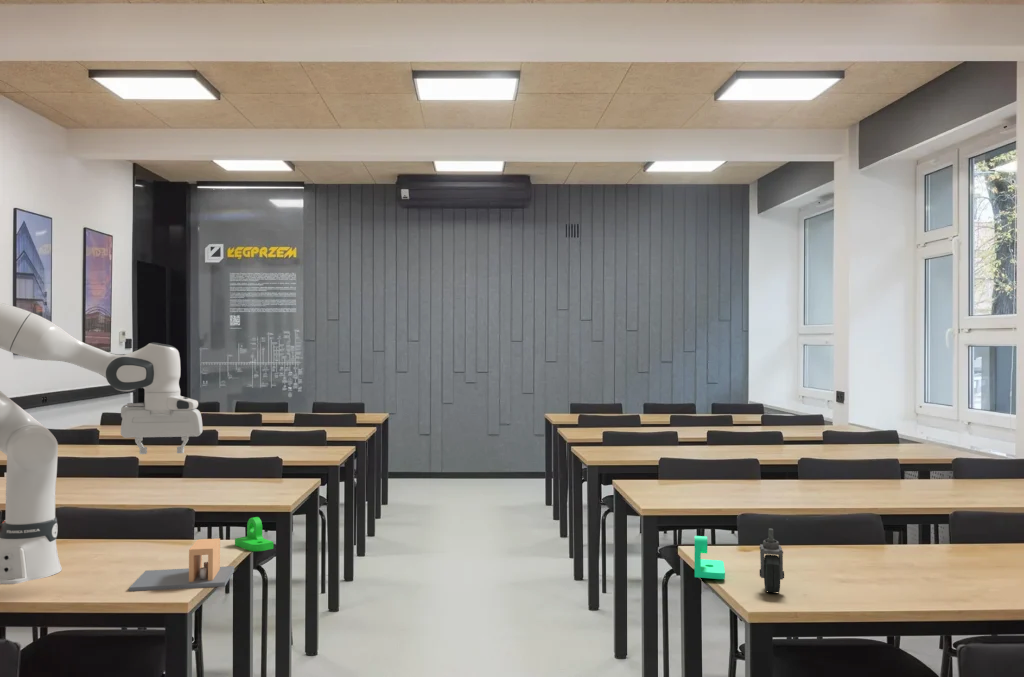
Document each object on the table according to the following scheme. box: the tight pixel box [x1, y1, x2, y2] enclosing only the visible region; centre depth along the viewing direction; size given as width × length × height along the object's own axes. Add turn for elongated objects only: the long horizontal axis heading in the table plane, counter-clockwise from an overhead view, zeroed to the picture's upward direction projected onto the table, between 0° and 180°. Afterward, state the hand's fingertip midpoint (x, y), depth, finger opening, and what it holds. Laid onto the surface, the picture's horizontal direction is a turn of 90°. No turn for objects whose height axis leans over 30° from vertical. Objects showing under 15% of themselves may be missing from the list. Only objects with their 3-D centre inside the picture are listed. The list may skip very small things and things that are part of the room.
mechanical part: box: [234, 516, 274, 552], centre depth 226 cm, size 12×6×8 cm, turn 48°
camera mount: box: [694, 535, 726, 580], centre depth 199 cm, size 12×8×10 cm, turn 166°
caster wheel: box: [759, 528, 785, 593], centre depth 185 cm, size 6×10×15 cm, turn 165°
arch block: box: [188, 538, 221, 582], centre depth 192 cm, size 6×10×8 cm, turn 11°
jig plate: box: [128, 561, 235, 592], centre depth 191 cm, size 22×14×4 cm, turn 101°
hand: (162, 453), depth 203 cm, fingers open, 8 cm apart
